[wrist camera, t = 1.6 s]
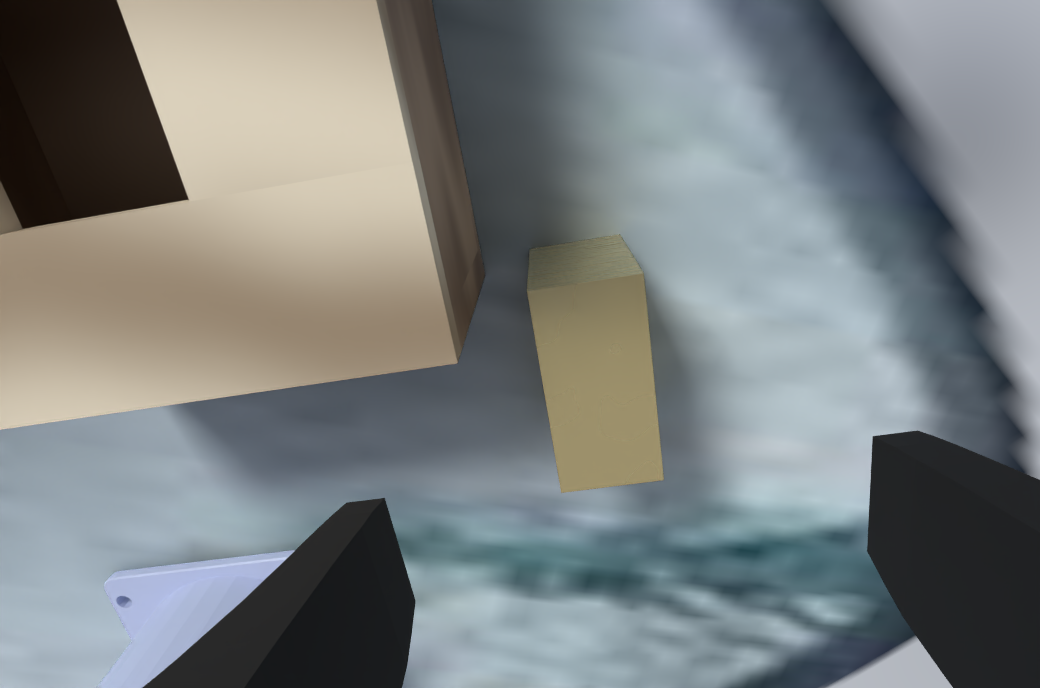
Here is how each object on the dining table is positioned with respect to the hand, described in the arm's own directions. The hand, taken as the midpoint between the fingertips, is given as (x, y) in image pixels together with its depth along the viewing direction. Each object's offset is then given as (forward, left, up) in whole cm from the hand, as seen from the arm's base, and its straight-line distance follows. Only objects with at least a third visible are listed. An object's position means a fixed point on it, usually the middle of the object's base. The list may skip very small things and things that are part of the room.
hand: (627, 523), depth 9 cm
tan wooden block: (0, 0, -8) cm, 8 cm away
